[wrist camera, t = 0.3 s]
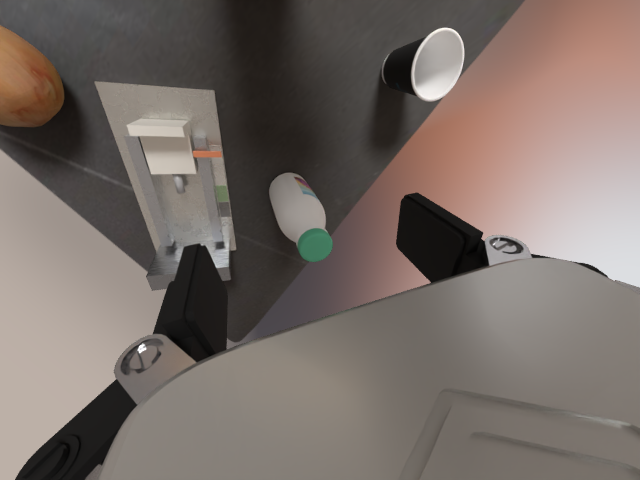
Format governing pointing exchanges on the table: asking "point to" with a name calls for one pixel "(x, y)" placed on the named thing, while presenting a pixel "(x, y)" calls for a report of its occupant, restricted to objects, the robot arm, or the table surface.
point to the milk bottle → (300, 216)
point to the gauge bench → (159, 189)
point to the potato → (26, 83)
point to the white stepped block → (169, 147)
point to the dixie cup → (426, 65)
